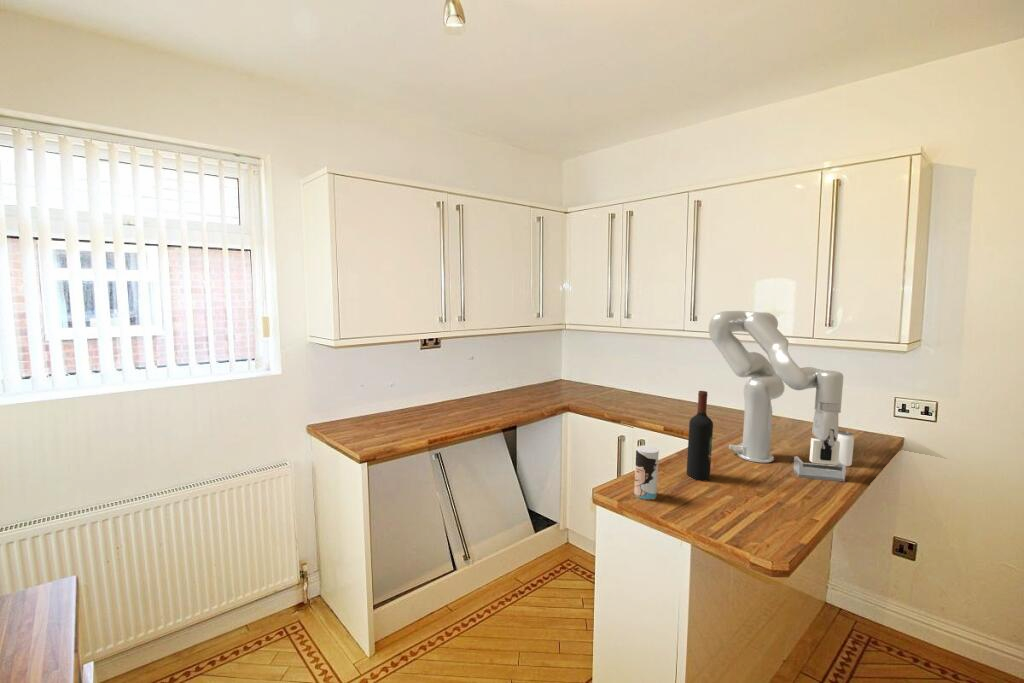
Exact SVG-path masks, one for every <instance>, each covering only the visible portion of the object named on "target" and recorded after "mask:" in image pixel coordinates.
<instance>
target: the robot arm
mask: <svg viewBox="0 0 1024 683" xmlns="http://www.w3.org/2000/svg"><path fill="white" fill-rule="evenodd" d="M778 326H779V322H778V319H777V317H776V316H775V315H774V314H772V313H770V312H763V311H762V312H760V311H759V312H758V311H745V310H724V311H719V312H717V313H715V314H714V315H713V316H712V317H711V320H710V321H709V324H708V334H709V337H710V339H711V341H712V343H713V344H714V346H715V347H716V348H717V349H718V351H719V353H720V354H721V355H722V357H723V359H725V361H726V363H727V364H728V367H729V368H730V369H731V370H732V372H733V373H734V374H735V376H737V377H739V378H750V379H749V380H748V381H746V383H745V384H744V387H743V396H744V397H743V398H744V413H743V414H744V415H743V428H742V429H743V433H742V442H740V444H739V443H738V444H736V445H735V444H728V449H729V450H732V451H733V452H736V453H737V456H738V457H739V458H741V459H743V460H746V461H750V462H754V463H759V464H760V463H761V464H764V463H771V462H773V461H774V459H775V457H774V455H773V454H771V452H770V451H771V439H772V425H773V406H772V400H774V399H775V400H776V399H778V398H780V397H781V396H782V395H783V394H784V393H785V385H787V387H789V388H790V389H791V390H792V389H793V390H795V391H804V390H808V389H815V397H814V398H815V401H814V415H813V420H812V421H813V423H812V428H811V429H812V430H811V431H812V432H811V433H812V434H813V436H814V437H815V438H816V439H820V440H821V441H822V448H821V453H820V459H821V460H828V461H831V455H832V447H833V446H834V442H836V441H837V438H838V431H839V414H840V413H841V411H842V410H841V409H842V400H843V399H842V398H843V388H844V374H843V372H840V371H837V370H828V369H827V370H826V369H825V370H824V369H820V368H816V367H813V366H812V367H811V366H806V367H800V366H799V365H798V364H797V363H796V361H795V360H793V358H792V357H791V356H790V353H789V344H790V343H789V339H787V338H786V337H785V336H784V334H783V333H782V332H781V331H780V330H779V329H778ZM734 332H742V333H743V332H744V333H748V334H749V335H750V336H751V337H752V339H753V340H754V341H755V342H756V343H757V344H758V345H759V347H761V349H762V350H763V351H764V352H765V353H766V354H767V357H768V358H767V357H766V356H764V355H763V354H761V353H759V352H756V351H751V352H749V351H748V350H747V349H746V347H745V346H744V344H743V343H742V341H741V340H740V339H739V338H738V337H736V336H735V335H734ZM826 439H827V440H826ZM825 442H828V443H826V444H825Z"/></svg>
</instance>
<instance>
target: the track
mask: <svg viewBox="0 0 1024 683" xmlns="http://www.w3.org/2000/svg"><path fill="white" fill-rule="evenodd" d="M846 470H847V467H846V466H845V465H844V464H843V463H841V462H840V461H838V465H832V464H820V463H812V462H811V463H810V462H803V461H802V459H801V458H800V457H799V456H797V455H796V456H793V470H792V472H794V474H795V473H796V474H795V475H796V476H797V477H798V478H801V477H803V479H812V480H823V481H832V482H841V481H843V482H842V483H845V480H846V473H847V472H846Z"/></svg>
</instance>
